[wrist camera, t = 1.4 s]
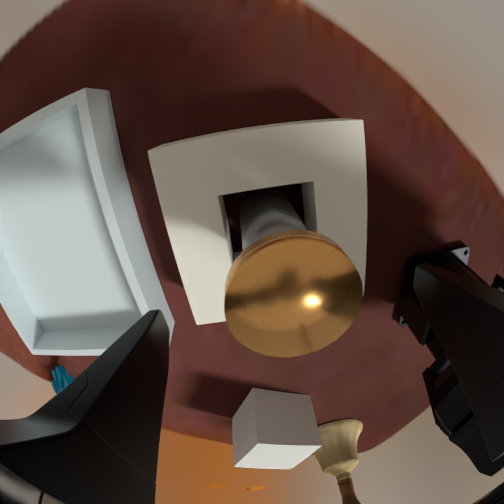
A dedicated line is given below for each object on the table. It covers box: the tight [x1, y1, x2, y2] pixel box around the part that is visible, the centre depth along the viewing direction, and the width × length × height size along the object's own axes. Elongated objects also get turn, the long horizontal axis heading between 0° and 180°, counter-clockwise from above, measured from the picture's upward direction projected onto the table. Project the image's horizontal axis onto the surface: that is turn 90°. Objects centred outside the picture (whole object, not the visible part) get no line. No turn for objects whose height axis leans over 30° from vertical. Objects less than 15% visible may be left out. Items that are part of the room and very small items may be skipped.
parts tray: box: [0, 88, 175, 356], centre depth 15 cm, size 13×16×3 cm
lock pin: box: [224, 187, 363, 357], centre depth 13 cm, size 4×4×9 cm
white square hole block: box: [148, 118, 367, 325], centre depth 15 cm, size 10×10×3 cm
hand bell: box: [313, 419, 363, 504], centre depth 23 cm, size 8×8×16 cm
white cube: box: [232, 388, 322, 469], centre depth 23 cm, size 6×6×6 cm
